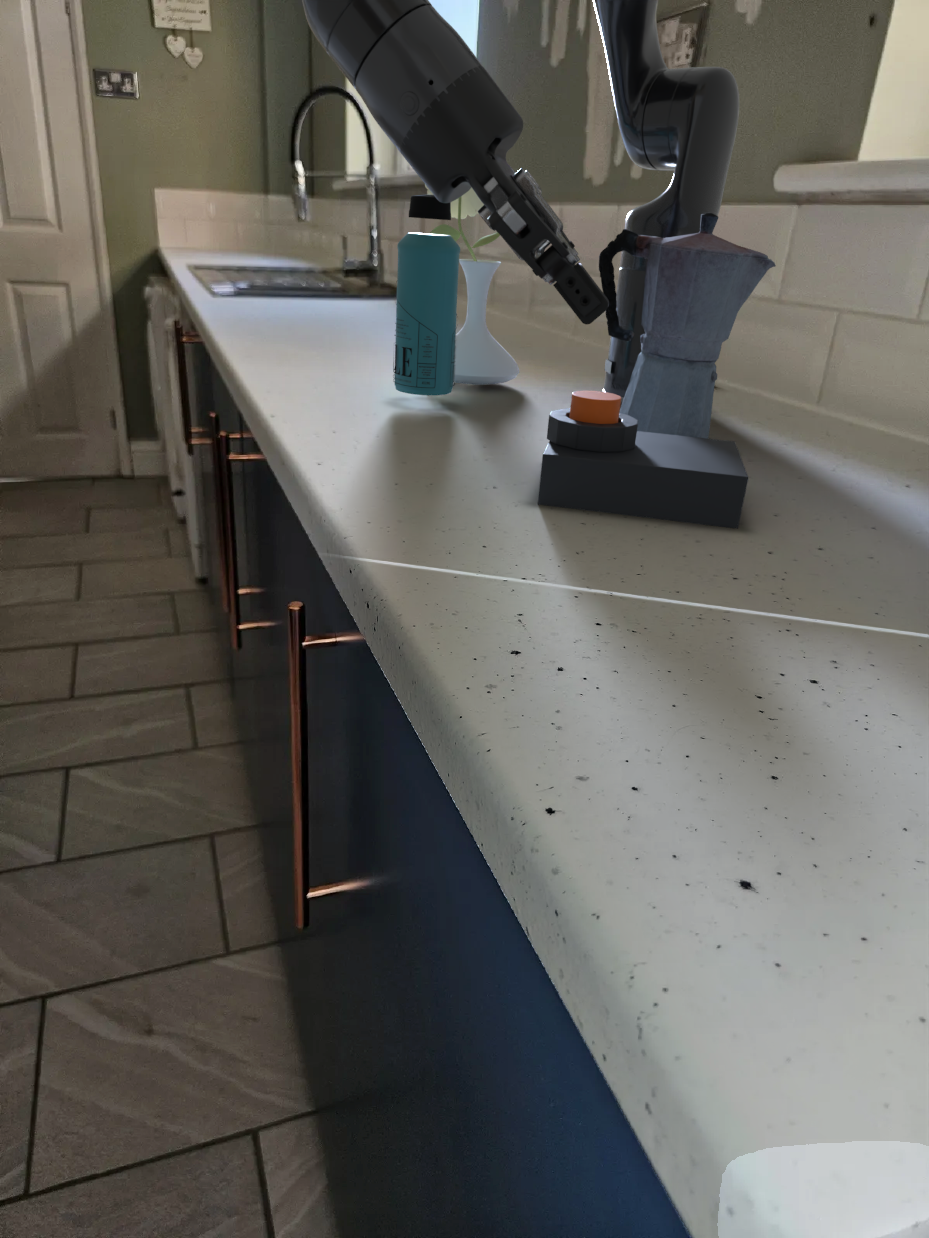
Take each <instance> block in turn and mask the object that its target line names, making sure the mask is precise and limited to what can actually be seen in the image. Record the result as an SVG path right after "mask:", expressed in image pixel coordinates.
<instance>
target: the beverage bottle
mask: <svg viewBox="0 0 929 1238" xmlns="http://www.w3.org/2000/svg"><path fill="white" fill-rule="evenodd" d="M408 209H409V210H408V218H414V219H426V220H428V219H429V220H441V221H451V220H452V217H451V202H450V203H442V202H440V201H438V200H437V198H436V197H435V196H434V195H427V194H416V195H414V194H413V195H411V196H410V200H409V208H408ZM396 245H397V246H396V247H397V280H396V283H395V284H396V290H394V291H395V293H396V295H395V296H394V298H395V299H396V300H395V301H394V303H395V306H396V307H395V322H394V324H395V330H394V332H395V334H394V336H395V341H394V361H393V366H392V367H393V368H392V370H393V380H392V382H393V383H394V386H395V390H396V391H398V392H401V393H404V394H409V395H417V396H431V397H432V396H446V395H449V394H451V393H452V391H453V388H454V386H455V385H456V384H455V383H456V382H454V381H455V380H454V379H455V378H454V377H455V375H454V374H455V373H454V372H455V370H454V366H456V365H454V364H455V362H456V361H455V358H456V357H455V349H456V348H455V347H456V346H455V342H456V341H457V340H455V338H456V334H457V327H458V324H459V323H457V319H459V317H458V314H457V308H458V307H457V306H458V290H459V289H458V288H459V269H460V263H459V259H460V253H461V247H460V245H459V244H458V242H457V241H455V240H454V239H453V238H452V237H451V236H450V235H439V234H429V233H425V232H424V233H423V232H407V233H406V234H405V235H404V236H403V237H402V238H401V239H400V240H399V242H398V243H397V244H396ZM455 369H456V368H455ZM453 380H454V381H453Z"/></svg>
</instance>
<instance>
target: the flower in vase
mask: <svg viewBox="0 0 929 1238" xmlns="http://www.w3.org/2000/svg"><path fill="white" fill-rule="evenodd" d="M424 188H425V189H426V195H433V193H432V192H431V191H430V190H429V188H428V187H427V186H426V184H425V183H424ZM483 205H484V204H483V203H482V202H481V200H480V199H479V198H478V196H477V195H476V193H475V192H474V190H473V189H472V187H471V189H470V190H469V191H468V192H466V193H465V194H464V195H462V196H461V197H459V198H458V199H456V200H454V201H452V202H451V219H452V218H453V219H456V220H457V226H458V229H456V228H454V227H453V226H451V225H449V224H444V223H442V224H440V225H438V226H436V227H435V228H433V229H432V230H431V231H430V232H429V233H428V234H439V235H450V236H451V237H452V238H453V239H454V240H455V241H456V242H457V241H458V240H459V239H460V238H462V240H463V242H464V244H465V246H466V248H467V250H468V251H469V253H470V255H471V257H472V258H459V266H460V267H461V268H462V272H463V273H464V277H465V284H466V293H467V294H466V295H467V296H466V297H467V303H466V305H467V306H466V307H467V308H466V317H465V320H464V324H463V326H462V328H461V329H460V330H459V331H458V332H457V333H456V338H455V340H457V341H456V342H455V346H456V347H455V348H456V349H455V357H456V358H455V361H456V362H455V364H454V365H456V366H454V370H455V372H454V373H455V374H454V375H455V377H454V378H455V379H454V380H455V381H454V380H453V381H454V383H458V384H464V385H476V386H477V385H480V386H481V385H482V386H483V385H487V386H488V385H496V384H503V383H507V382H509V381H511V380H514V379H516V378H517V377H518V375H519V374H520V368H519V364H518V363H517V362H516V360H515V359H514V357H513V356H512V355H511V354H510V353H509V351H507V350H506V349H505V348H504V347H503V346H502V345H501V344H500V343H499V342H498V341H497V339H496V338H495V337H494V336H493V335H492V334H491V332H490V330H489V328H488V325H487V319H486V318H487V317H486V316H487V302H488V297H489V296H488V295H489V289H490V286H491V282H492V280H493V277H494V275H495V274H496V271H497V270H498V268H500V266H501V264H502V262H501V261H497V260H491V259H477V257H476V254H475V252H474V250H473V249H475V248H479V247H483V246H485V245H488V244H490V243H493V242H494V241H495V240H497V239H498V238H499V237H501V235H500V234H499V233H498V232H497V231H496V232H494V233H492V234H488V235H485V236H482V237H480V238H479V239H478V240H477V241H476V242H475V243H474V244H473V245H472V246H471V245H470V243H469V242H468V240H467V236H465V234H464V231H463V228H462V220H465V219H467V217H469V218H470V217H471V218H473V217H476V215H479V213H478V210H479V209H480V208H481V207H482V206H483ZM455 368H456V369H455Z"/></svg>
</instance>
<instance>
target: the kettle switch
mask: <svg viewBox="0 0 929 1238" xmlns="http://www.w3.org/2000/svg"><path fill="white" fill-rule="evenodd" d="M620 404H621V397H620V396H619V395H616V394H613V393H608V392H603V391H600V390H575V391H573V392H572V393H571V400H570V407H569V408H570V417H569V418H570V419H572V420H577V421H581V422H587V423H596V424H615V423H618V419H619V412H620V408H621V405H620Z"/></svg>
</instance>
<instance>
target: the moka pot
mask: <svg viewBox="0 0 929 1238" xmlns="http://www.w3.org/2000/svg"><path fill="white" fill-rule="evenodd" d="M718 220H719V215H718V216H717V215H715V214H713V213H705V214H702V215H701V222H700V232H699V233H695V234H688V235H681V236H675V237H668V238H660V237H653V236H643V235H638V234H636V233H635V232H632V231H630V230H627V229H625V228H623V229H622V231H621V232H620V233H617V234H616V236H615V238H614V240H611V241H609V242H608V244H607V246H606V247H605V248H604V249H602V250H601V252H600V253H599V256H598V271H599V277H600V282H601V291H602V292H603V293H604V295H605V296H606V297H607V299H608V300H609V306H608V308H607V310H606V311H605V317H606V325H607V333H608V336H610V337H611V336H612V337H614V338H618V339H620V340H624V341H631V339H632V338H633V336H634V335H635V334H634V333H633V331H631V330H624V329H622V328H621V327H620V326H619V318H618V315H617V311H616V308H617V301H616V296H617V295H616V293H617V290H616V289H617V287H616V283H615V282H616V281H615V267H614V263H613V259H614V258H615V256H616V255H617V254H619V253H622V251H626V252H628V253H629V254H631V255H633V256H636V257H643V258H645V259H646V272H645V286H644V300H643V312H642V323H641V325H642V326H643V328H644V331H645V334H642V335H641V336H640V342H641V353H640V354H639V355H638V358H637V361H636V364H635V367H634V370H633V372H632V375H631V379H630V382H629V385H628V388H627V391H626V394H625V397H624V400H623V403H622V405H620V412H619V413H621V414H626V415H629V416H631V417H633V418H635V419H637V420H638V427H637V431H641V432H651V433H660V434H670V435H679V436H688V437H698V438H707V439H709V435H710V427H711V420H712V410H713V401H714V392H715V384H716V381H717V380H718V373H717V365H716V364H715V363H716V362H717V361H718V360H719V358H720V354H721V350H722V346H723V343H724V342H726V341H728V339H729V338H730V336H731V332H732V330H733V327H734V324H735V322H736V319H737V316H738V313H739V312H740V310H741V308H742V307H743V305H744V304H745V303H746V302H747V300H748V299H749V297H750V296H751V295H752V293H753V292H754V290H755V289H756V287H757V286H758V284H759V283H760V282H761V281H762V279H763V278H764V277H765V275H767V272H768V271H769V270H770V269H773V268H774V267H775V268H776V267H777V265H776V263H775V262H774V261H773V259H772V258H769V257H768V255H767V254H766V253H763V252H761V251H758V250H755V249H752V248H749V247H744V246H742V245H738V244H735V243H733V242H731V241H728V240H727V239H724V238H722V237H719V236H717V235H715V234H713V233H714V230H715V228H716V225H717V223H718Z"/></svg>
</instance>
